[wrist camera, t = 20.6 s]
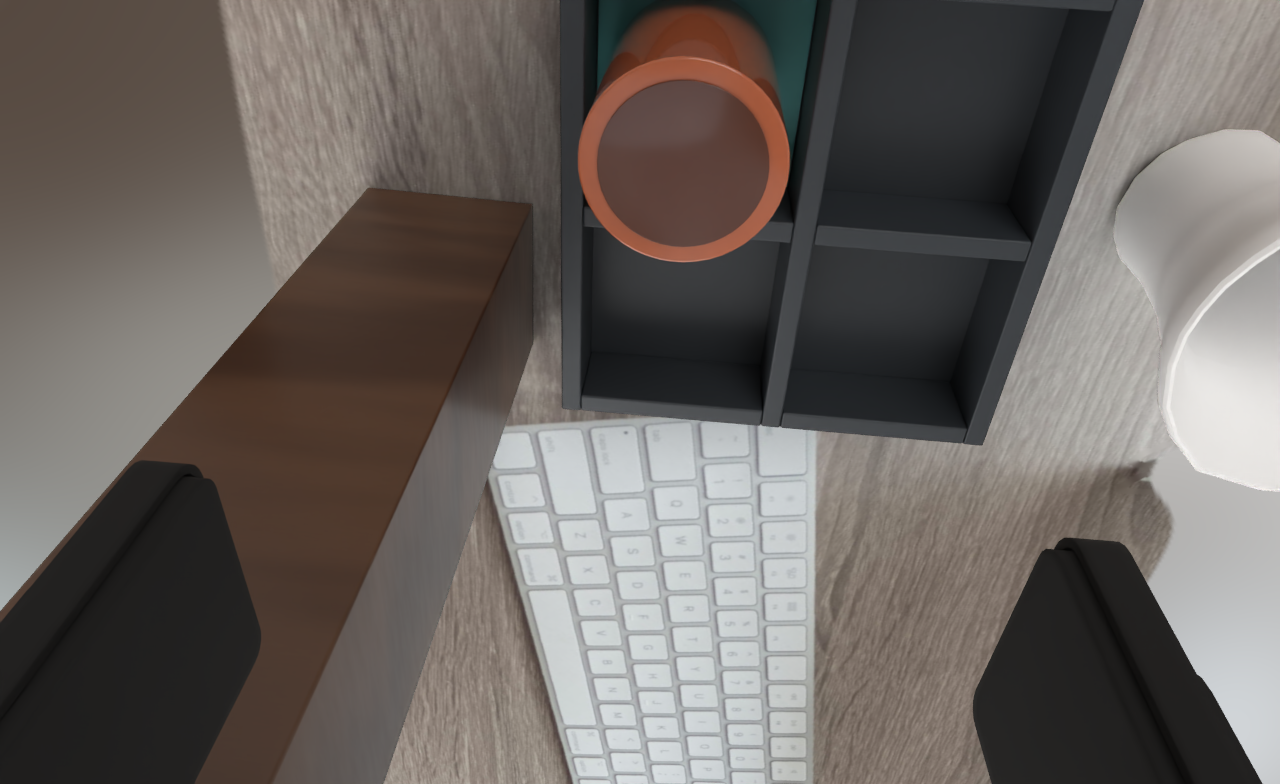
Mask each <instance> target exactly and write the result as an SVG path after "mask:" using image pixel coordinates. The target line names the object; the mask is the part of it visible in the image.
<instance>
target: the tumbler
mask: <svg viewBox="0 0 1280 784" xmlns="http://www.w3.org/2000/svg"><path fill="white" fill-rule="evenodd" d="M789 170H790V148H789V141H788V135H787V129H786V124H785V118H784V112H783V106H782V101H781V95H780V89H779V84H778V78H777V72H776V66H775V61H774V56H773V52H772V49H771V45H770V43H769V41H768V38H767V36H766V34H765V33H764V31H763V29H762V28H761V26H760V25H759V23H758V22H757V21H756V20H755V18H754V17H753V16H752V15H751V14H750V13H749V12H747V11H746V10H745V9H744V8H743V7H741V6H740V5H738V4H737V3H736V2H734V1H732V0H656V1H654V2H652V3H650V4H649V5H647V6H646V7H645V8H643V9H642V10H641V11H639V12H638V13H637V14H636V15H635V16H634V17H633V18H632V19H631V21H630V22H629V23H628V25H627V26H626V27H625V29H624V30H623V32H622V34H621V36H620V37H619V39H618V42H617V44H616V46H615V49H614V51H613V54H612V56H611V59H610V61H609V64H608V66H607V69H606V71H605V73H604V76H603V78H602V81H601V83H600V86H599V88H598V91H597V93H596V96H595V98H594V100H593V103H592V105H591V108H590V110H589V113H588V115H587V118H586V120H585V123H584V125H583V128H582V131H581V135H580V139H579V146H578V172H579V179H580V183H581V187H582V190H583V193H584V196H585V198H586V200H587V203H588V205H589V207H590V208H591V210H592V212H593V213H594V215H595V217H596V218H597V219H598V220H599V222H600V223H601V224H602V225H603V227H604V228H605V229H606V230H607V231H608V232H609V233H610V234H611V235H612V236H614V237H615V238H616V239H618V240H619V241H620V242H621V243H623V244H624V245H626V246H628V247H629V248H631V249H633V250H634V251H637V252H639V253H641V254H644V255H646V256H649V257H652V258H656V259H659V260H665V261H670V262H697V261H703V260H709V259H712V258H715V257H719V256H722V255H724V254H726V253H729V252H731V251H733V250H735V249H737V248H738V247H740V246H742V245H743V244H745V243H746V242H748V241H749V240H750V239H752V238H753V237H754V236H755V235H756V234H757V233H758V232H759V231H760V230H761V229H762V228H763V227H764V226H765V225H766V224H767V223H768V221H769V220H770V219H771V217H772V216H773V215H774V213H775V211H776V210H777V208H778V206H779V204H780V202H781V200H782V197H783V195H784V193H785V189H786V186H787V182H788V177H789Z"/></svg>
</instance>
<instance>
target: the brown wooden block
mask: <svg viewBox="0 0 1280 784" xmlns="http://www.w3.org/2000/svg"><path fill="white" fill-rule="evenodd" d="M532 345H533V206H532V204H525V203H516V202H506V201H496V200H486V199H476V198H466V197H456V196H446V195H436V194H426V193H416V192H406V191H396V190H386V189H376V188H368V189H367V190H366V191H365V192H364V193H363V194H362V196H361V197H360V198H359V199H358V200H357V201H356V203H355V204H354V205H353V206H352V207H351V208H350V209H349V211H348V212H347V213H346V214H345V215H344V216H343V217H342V219H341V220H340V221H339V222H338V223H337V224H336V226H335V227H334V228H333V229H332V230H331V231H330V232H329V234H328V235H327V236H326V237H325V238H324V239H323V240H322V242H321V243H320V244H319V245H318V246H317V247H316V249H315V250H314V251H313V252H312V253H311V254H310V255H309V257H308V258H307V259H306V260H305V261H304V262H303V263H302V265H301V266H300V267H299V268H298V269H297V270H296V272H295V273H294V274H293V275H292V276H291V277H290V278H289V280H288V281H287V282H286V283H285V284H284V285H283V286H282V288H281V289H280V290H279V291H278V292H277V293H276V295H275V296H274V297H273V298H272V299H271V300H270V302H269V303H268V304H267V305H266V306H265V307H264V308H263V309H262V311H261V312H260V313H259V314H258V315H257V317H256V318H255V319H254V320H253V321H252V322H251V323H250V324H249V326H248V327H247V328H246V329H245V330H244V331H243V333H242V334H241V335H240V336H239V337H238V338H237V339H236V341H235V342H234V343H233V344H232V345H231V347H230V348H229V349H228V350H227V351H226V352H225V353H224V354H223V356H222V357H221V358H220V359H219V360H218V361H217V362H216V364H215V365H214V366H213V367H212V368H211V369H210V371H209V372H208V373H207V374H206V375H205V376H204V377H203V379H202V380H201V381H200V382H199V383H198V384H197V385H196V387H195V388H194V389H193V390H192V391H191V392H190V393H189V395H188V396H187V397H186V398H185V399H184V400H183V402H182V403H181V404H180V405H179V406H178V407H177V409H176V410H175V411H174V412H173V413H172V414H171V415H170V417H169V418H168V419H167V420H166V421H165V422H164V423H163V425H162V426H161V427H160V428H159V429H158V430H157V432H156V433H155V434H154V435H153V436H152V437H151V438H150V439H149V441H148V442H147V443H146V444H145V445H144V446H143V448H142V449H141V450H140V451H139V452H138V453H137V455H136V456H135V457H134V458H133V459H132V460H131V461H130V462H129V464H128V465H127V466H126V467H125V468H124V469H123V471H122V472H121V473H120V474H119V475H118V476H117V478H116V479H115V480H114V481H113V482H112V483H111V484H110V486H109V487H108V488H107V489H106V490H105V491H104V492H103V494H102V495H101V496H100V497H99V498H98V499H97V500H96V502H95V503H94V504H93V505H92V506H91V507H90V509H89V510H88V511H87V512H86V513H85V514H84V515H83V517H82V518H81V519H80V520H79V521H78V523H77V524H76V525H75V526H74V527H73V528H72V529H71V530H70V532H69V533H68V534H67V535H66V536H65V537H64V539H63V540H62V541H61V542H60V543H59V544H58V545H57V547H56V548H55V549H54V550H53V551H52V552H51V553H50V555H49V556H48V557H47V558H46V559H45V560H44V561H43V563H42V564H41V565H40V566H39V567H38V568H37V570H36V571H35V572H34V573H33V574H32V575H31V577H30V578H29V579H28V580H27V581H26V582H25V583H24V584H23V586H22V587H21V588H20V589H19V590H18V592H17V593H16V594H15V595H14V596H13V597H12V598H11V599H10V601H9V602H8V603H7V604H6V605H5V606H4V607H3V609H2V610H1V611H0V622H1V621H2V620H3V619H4V617H5V616H6V615H7V614H8V613H9V611H10V610H11V609H12V608H13V607H14V605H15V604H16V603H17V602H18V601H19V599H20V598H21V597H22V596H23V594H24V593H25V592H26V591H27V590H28V589H29V588H30V587H31V586H32V584H33V583H34V582H35V581H36V579H37V578H38V577H39V576H40V575H41V573H42V572H43V571H44V570H45V569H46V567H47V566H48V565H49V564H50V563H51V561H52V560H53V559H54V558H55V557H56V555H57V554H58V553H59V552H60V550H61V549H62V548H63V547H64V546H65V544H66V543H67V542H68V541H69V540H70V538H71V537H72V536H73V535H74V534H75V532H76V531H77V530H78V529H79V527H80V526H81V525H82V524H83V523H84V521H85V520H86V519H87V518H88V517H89V515H90V514H91V513H92V512H93V511H94V509H95V508H96V507H97V506H98V504H99V503H100V502H101V501H102V500H103V498H104V497H105V496H106V495H107V494H108V492H109V491H110V490H111V489H112V488H113V486H114V485H115V484H116V483H117V481H118V480H119V479H120V478H121V477H122V475H123V474H124V473H125V472H126V471H127V469H128V468H129V467H131V466H132V465H133V464H134V463H135V462H138V461H141V460H148V461H159V462H171V463H183V464H192V465H195V466H197V467H198V468H199V469H200V471H201V473H202V475H203V477H204V478H208V479H211V480H212V481H213V482H214V483H215V485H216V487H217V490H218V494H219V497H220V500H221V503H222V506H223V510H224V513H225V516H226V519H227V522H228V526H229V529H230V532H231V535H232V539H233V542H234V545H235V548H236V551H237V555H238V558H239V561H240V564H241V567H242V571H243V574H244V577H245V580H246V583H247V587H248V590H249V593H250V596H251V599H252V603H253V606H254V609H255V612H256V616H257V619H258V622H259V625H260V629H261V645H260V650H259V654H258V657H257V659H256V662H255V664H254V666H253V668H252V670H251V672H250V674H249V676H248V678H247V680H246V682H245V684H244V686H243V688H242V690H241V692H240V694H239V696H238V698H237V700H236V702H235V704H234V706H233V708H232V710H231V711H230V713H229V715H228V717H227V719H226V721H225V723H224V725H223V727H222V729H221V731H220V733H219V735H218V737H217V739H216V741H215V743H214V745H213V747H212V749H211V751H210V753H209V755H208V757H207V759H206V761H205V763H204V765H203V767H202V769H201V771H200V773H199V775H198V777H197V779H196V781H195V783H194V784H383V783H384V781H385V778H386V775H387V772H388V769H389V766H390V763H391V760H392V757H393V754H394V751H395V748H396V745H397V742H398V739H399V736H400V733H401V730H402V727H403V725H404V722H405V719H406V716H407V713H408V710H409V707H410V704H411V701H412V698H413V695H414V692H415V689H416V686H417V683H418V680H419V677H420V674H421V672H422V669H423V666H424V663H425V660H426V657H427V654H428V651H429V648H430V645H431V642H432V639H433V636H434V633H435V630H436V627H437V624H438V621H439V618H440V616H441V613H442V610H443V607H444V604H445V601H446V598H447V595H448V592H449V589H450V586H451V583H452V580H453V577H454V574H455V571H456V568H457V565H458V563H459V560H460V557H461V554H462V551H463V548H464V545H465V542H466V539H467V536H468V533H469V530H470V527H471V524H472V521H473V518H474V515H475V512H476V510H477V507H478V504H479V501H480V498H481V495H482V492H483V489H484V486H485V483H486V480H487V477H488V474H489V471H490V468H491V465H492V462H493V459H494V456H495V454H496V451H497V448H498V445H499V442H500V439H501V436H502V433H503V430H504V427H505V424H506V421H507V418H508V415H509V412H510V409H511V406H512V403H513V401H514V398H515V395H516V392H517V389H518V386H519V383H520V380H521V377H522V374H523V371H524V368H525V365H526V362H527V359H528V356H529V353H530V350H531V348H532Z"/></svg>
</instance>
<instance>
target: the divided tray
mask: <svg viewBox="0 0 1280 784" xmlns="http://www.w3.org/2000/svg"><path fill="white" fill-rule="evenodd" d="M654 1H656V0H560V115H561V306H562V408H563V409H573V410H580V409H582V410H587V411H598V412H610V413H621V414H632V415H644V416H655V417H667V418H678V419H689V420H701V421H712V422H724V423H735V424H746V425H758V426H759V425H760V424H761V425H762V426H769V427H779V426H781V427H782V428H792V429H803V430H814V431H826V432H837V433H849V434H860V435H871V436H883V437H894V438H906V439H917V440H928V441H940V442H951V443H964V444H970V445H983V442H984V440H985V437H986V434H987V431H988V429H989V426H990V423H991V420H992V418H993V415H994V412H995V409H996V407H997V404H998V401H999V398H1000V396H1001V393H1002V390H1003V387H1004V385H1005V382H1006V379H1007V376H1008V374H1009V371H1010V368H1011V365H1012V363H1013V360H1014V357H1015V354H1016V351H1017V349H1018V346H1019V343H1020V340H1021V338H1022V335H1023V332H1024V329H1025V327H1026V324H1027V321H1028V318H1029V316H1030V313H1031V310H1032V307H1033V305H1034V302H1035V299H1036V296H1037V294H1038V291H1039V288H1040V285H1041V283H1042V280H1043V277H1044V274H1045V272H1046V269H1047V266H1048V263H1049V261H1050V258H1051V255H1052V252H1053V250H1054V247H1055V244H1056V241H1057V239H1058V236H1059V233H1060V230H1061V228H1062V225H1063V222H1064V219H1065V217H1066V214H1067V211H1068V208H1069V206H1070V203H1071V200H1072V197H1073V195H1074V192H1075V189H1076V186H1077V184H1078V181H1079V178H1080V175H1081V172H1082V170H1083V167H1084V164H1085V161H1086V159H1087V156H1088V153H1089V150H1090V148H1091V145H1092V142H1093V139H1094V137H1095V134H1096V131H1097V128H1098V126H1099V123H1100V120H1101V117H1102V115H1103V112H1104V109H1105V106H1106V104H1107V101H1108V98H1109V95H1110V93H1111V90H1112V87H1113V84H1114V82H1115V79H1116V76H1117V73H1118V71H1119V68H1120V65H1121V62H1122V60H1123V57H1124V54H1125V51H1126V49H1127V46H1128V43H1129V40H1130V38H1131V35H1132V32H1133V29H1134V27H1135V24H1136V21H1137V18H1138V16H1139V13H1140V10H1141V7H1142V5H1143V2H1144V0H732V1H734V2H736V3H737V4H738V5H740V6H741V7H743V8H744V9H745V10H746V11H747V12H749V13H750V14H751V15H752V16H753V17H754V18H755V20H756V21H757V22H758V23H759V25H760V26H761V28H762V29H763V31H764V33H765V34H766V36H767V38H768V41H769V43H770V45H771V49H772V52H773V56H774V61H775V66H776V72H777V78H778V84H779V89H780V95H781V101H782V106H783V112H784V118H785V124H786V129H787V135H788V141H789V148H790V170H789V177H788V182H787V186H786V189H785V193H784V195H783V197H782V200H781V202H780V204H779V206H778V208H777V210H776V211H775V213H774V215H773V216H772V217H771V219H770V220H769V221H768V223H767V224H766V225H765V226H764V227H763V228H762V229H761V230H760V231H759V232H758V233H757V234H756V235H755V236H754V237H753V238H752V239H750V240H749V241H748V242H746V243H745V244H743V245H742V246H740V247H738V248H737V249H735V250H733V251H731V252H729V253H726V254H724V255H722V256H719V257H715V258H712V259H709V260H703V261H697V262H670V261H665V260H659V259H656V258H652V257H649V256H646V255H644V254H641V253H639V252H637V251H634V250H633V249H631V248H629V247H628V246H626V245H624V244H623V243H621V242H620V241H619V240H618V239H616V238H615V237H614V236H612V235H611V234H610V233H609V232H608V231H607V230H606V229H605V228H604V227H603V225H602V224H601V223H600V222H599V220H598V219H597V218H596V217H595V215H594V213H593V212H592V210H591V208H590V207H589V205H588V203H587V200H586V198H585V196H584V193H583V190H582V187H581V183H580V179H579V172H578V146H579V139H580V135H581V131H582V128H583V125H584V123H585V120H586V118H587V115H588V113H589V110H590V108H591V105H592V103H593V100H594V98H595V96H596V93H597V91H598V88H599V86H600V83H601V81H602V78H603V76H604V73H605V71H606V69H607V66H608V64H609V61H610V59H611V56H612V54H613V51H614V49H615V46H616V44H617V42H618V39H619V37H620V36H621V34H622V32H623V30H624V29H625V27H626V26H627V25H628V23H629V22H630V21H631V19H632V18H633V17H634V16H635V15H636V14H637V13H638V12H639V11H641V10H642V9H643V8H645V7H646V6H647V5H649V4H650V3H652V2H654Z"/></svg>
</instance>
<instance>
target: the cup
mask: <svg viewBox="0 0 1280 784" xmlns="http://www.w3.org/2000/svg"><path fill="white" fill-rule="evenodd" d="M1113 239H1114V242H1115V246H1116V249H1117V252H1118V256H1119V258H1120V259H1121V260H1122V261H1123V263H1124V264H1125V265H1126V266H1127V267H1128V268H1129V270H1130V271H1131V272H1132V273H1133V274H1134V275H1135V276H1136V278H1137V279H1138V280H1139V281H1140V282H1141V284H1142V285H1143V288H1144V290H1145V292H1146V294H1147V296H1148V298H1149V300H1150V303H1151V305H1152V307H1153V309H1154V312H1155V314H1156V317H1157V325H1158V333H1159V337H1160V341H1161V347H1160V352H1159V366H1158V389H1157V401H1158V405H1159V408H1160V411H1161V414H1162V417H1163V420H1164V423H1165V426H1166V428H1167V431H1168V434H1169V436H1170V437H1171V438H1172V440H1173V441H1174V442H1175V444H1176V445H1177V446H1178V448H1179V449H1180V450H1181V451H1182V453H1183V454H1184V455H1185V457H1186V458H1187V459H1188V460H1189V462H1190V463H1191V464H1192V466H1193V467H1194V468H1195V470H1196V471H1199V472H1202V473H1205V474H1208V475H1212V476H1215V477H1218V478H1221V479H1225V480H1228V481H1231V482H1235V483H1238V484H1241V485H1245V486H1248V487H1251V488H1254V489H1258V490H1265V491H1280V143H1279V142H1277V141H1276V140H1274V139H1272V138H1271V137H1269V136H1268V135H1266V134H1265V133H1263V132H1262V131H1260V130H1235V129H1224V130H1220V131H1216V132H1213V133H1209V134H1206V135H1202V136H1199V137H1195V138H1191V139H1188V140H1186V141H1184V142H1182V143H1180V144H1178V145H1176V146H1175V147H1173V148H1171V149H1169V150H1167V151H1165V152H1163V153H1162V154H1161V155H1159V156H1158V157H1157V158H1156V159H1155V160H1154V161H1153V162H1152V163H1150V164H1149V165H1148V166H1147V167H1146V168H1145V169H1144V170H1143V171H1142V172H1140V173H1139V174H1138V175H1137V176H1136V177H1135V178H1134V180H1133V182H1132V183H1131V185H1130V187H1129V188H1128V190H1127V192H1126V194H1125V195H1124V197H1123V199H1122V200H1121V202H1120V204H1119V205H1118V207H1117V211H1116V218H1115V224H1114V231H1113Z"/></svg>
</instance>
